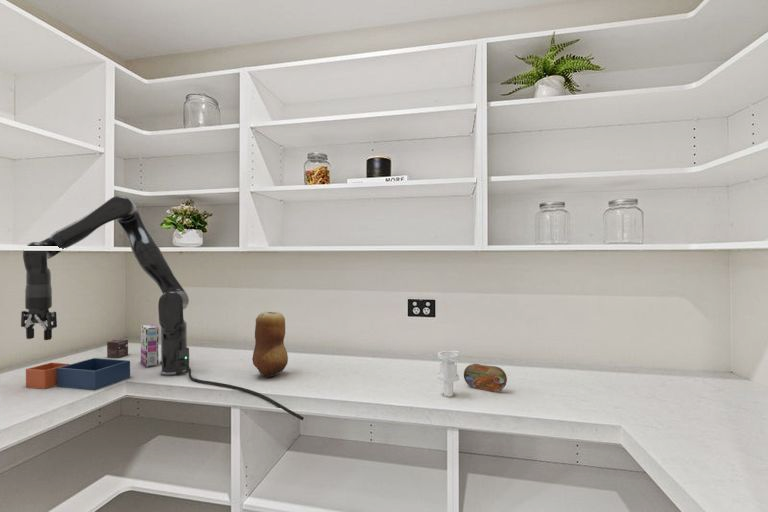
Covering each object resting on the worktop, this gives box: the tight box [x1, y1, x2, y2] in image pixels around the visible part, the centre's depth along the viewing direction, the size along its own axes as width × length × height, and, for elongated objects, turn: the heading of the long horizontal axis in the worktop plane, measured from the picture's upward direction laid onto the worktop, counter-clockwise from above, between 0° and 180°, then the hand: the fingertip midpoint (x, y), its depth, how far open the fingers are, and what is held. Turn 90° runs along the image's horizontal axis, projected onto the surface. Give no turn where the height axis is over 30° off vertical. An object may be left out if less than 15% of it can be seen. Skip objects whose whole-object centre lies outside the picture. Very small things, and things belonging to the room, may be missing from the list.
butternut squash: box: [252, 311, 289, 379], centre depth 158 cm, size 14×13×25 cm
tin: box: [463, 363, 508, 393], centre depth 141 cm, size 15×3×8 cm, turn 56°
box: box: [106, 338, 129, 359], centre depth 188 cm, size 6×6×7 cm
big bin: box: [56, 357, 131, 391], centre depth 151 cm, size 18×15×7 cm
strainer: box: [437, 350, 460, 397], centre depth 136 cm, size 7×7×15 cm
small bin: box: [25, 362, 71, 390], centre depth 149 cm, size 9×9×6 cm
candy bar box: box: [140, 324, 159, 368], centre depth 175 cm, size 11×5×16 cm, turn 42°
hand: (38, 339), depth 150 cm, fingers open, 8 cm apart
